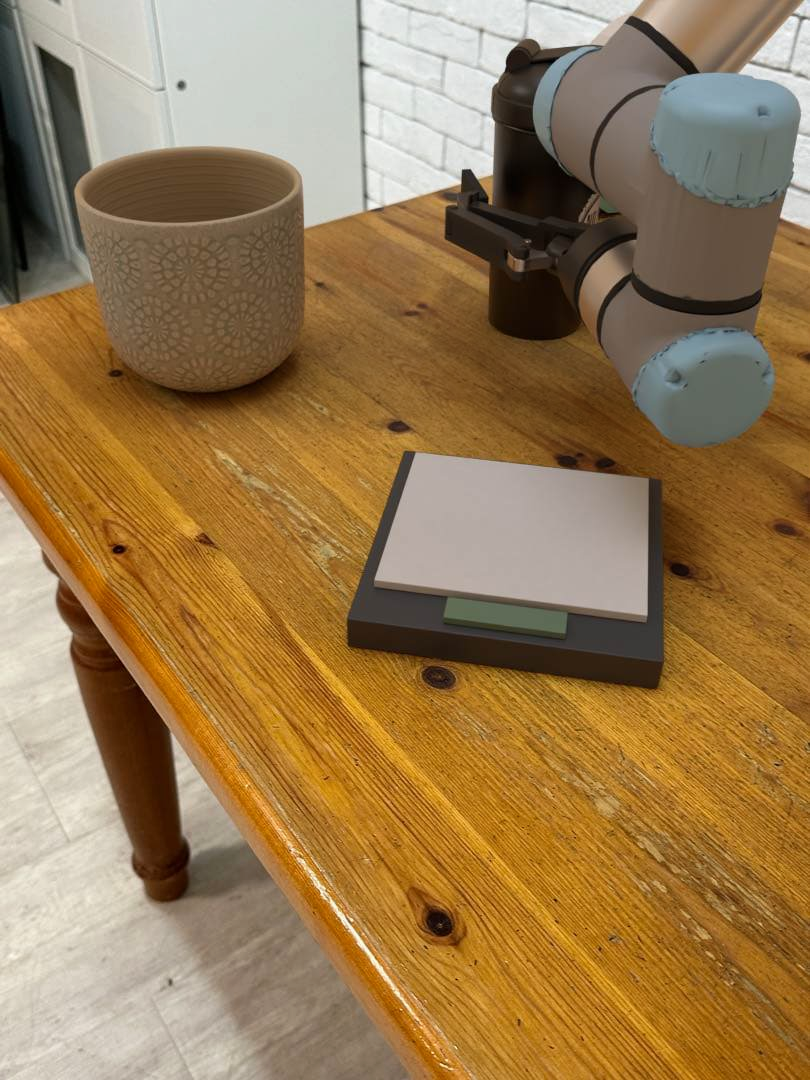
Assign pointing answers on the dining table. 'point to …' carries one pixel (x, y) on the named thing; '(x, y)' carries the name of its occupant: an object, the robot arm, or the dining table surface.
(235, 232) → the planter
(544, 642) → the scale
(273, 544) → the dining table surface
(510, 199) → the water bottle
